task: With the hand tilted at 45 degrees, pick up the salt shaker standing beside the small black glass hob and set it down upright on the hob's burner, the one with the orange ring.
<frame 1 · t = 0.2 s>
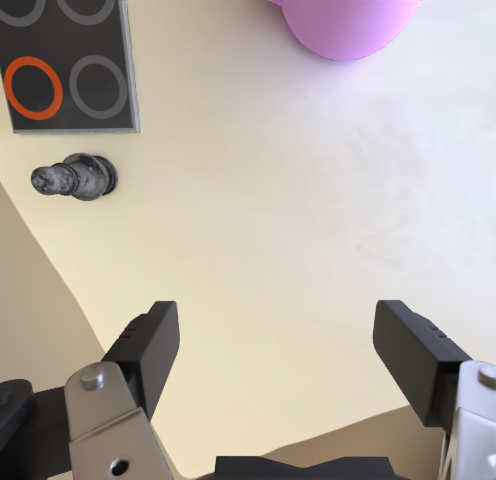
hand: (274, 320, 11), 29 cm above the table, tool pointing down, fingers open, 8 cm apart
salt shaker: (99, 175, 39), on the table
hob: (66, 46, 34), on the table
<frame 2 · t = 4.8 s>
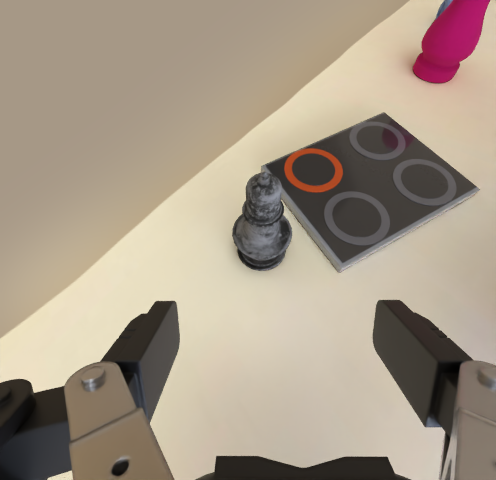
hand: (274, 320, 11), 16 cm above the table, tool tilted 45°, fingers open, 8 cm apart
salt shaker: (261, 249, 31), on the table
hob: (363, 183, 35), on the table
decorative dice: (445, 27, 53), on the table
pepper mill: (431, 73, 46), on the table
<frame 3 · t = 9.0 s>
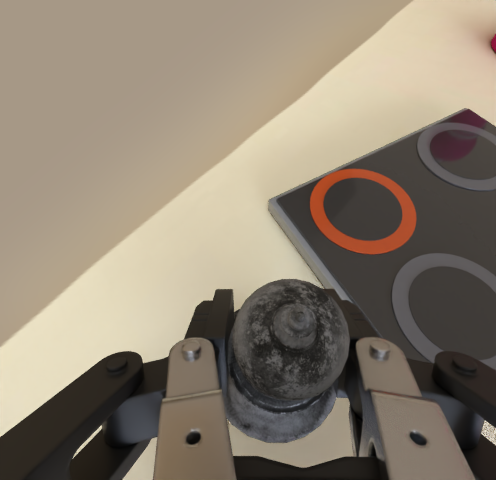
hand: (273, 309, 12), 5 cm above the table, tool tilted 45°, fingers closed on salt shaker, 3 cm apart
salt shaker: (269, 370, 16), on the table, touching gripper
hob: (447, 232, 20), on the table
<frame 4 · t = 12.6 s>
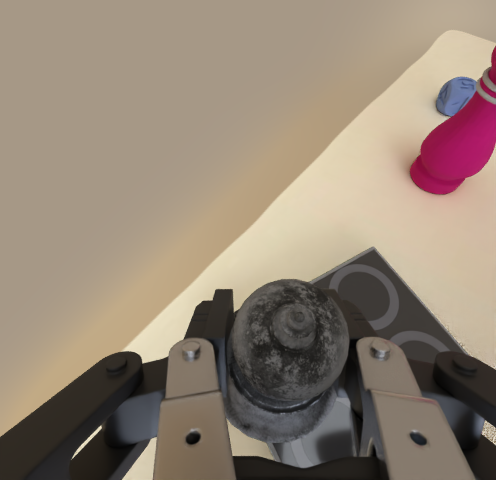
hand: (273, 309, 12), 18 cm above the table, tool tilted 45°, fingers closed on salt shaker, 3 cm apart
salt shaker: (269, 370, 16), point 12 cm above the table, touching gripper
hob: (344, 359, 27), on the table
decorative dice: (448, 109, 45), on the table
pepper mill: (432, 177, 38), on the table
when the fingers open (7 cm above the table, at t = 16.3 s): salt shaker stays where it is, resting on hob.
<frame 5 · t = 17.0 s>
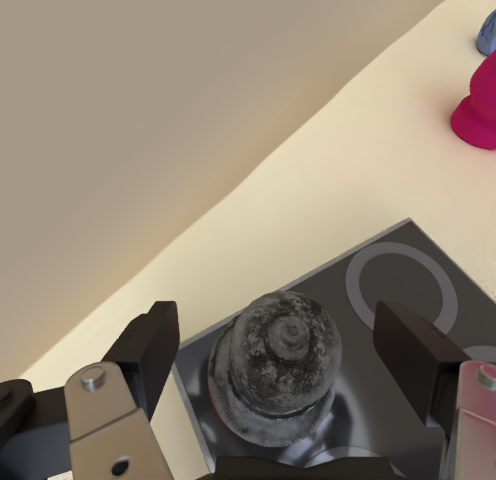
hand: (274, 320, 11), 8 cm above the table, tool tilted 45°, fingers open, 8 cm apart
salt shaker: (268, 374, 16), point 1 cm above the table, touching hob
hob: (373, 392, 17), on the table
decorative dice: (492, 50, 35), on the table
pepper mill: (481, 129, 28), on the table
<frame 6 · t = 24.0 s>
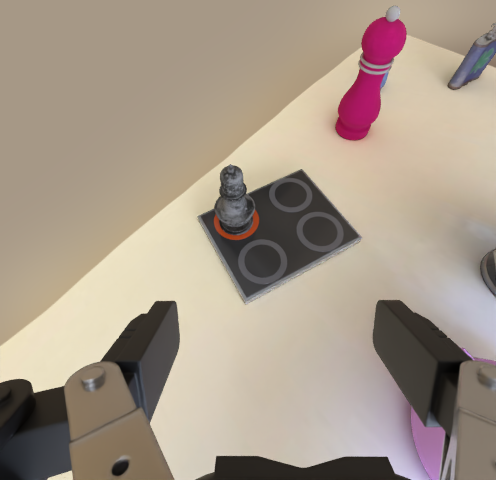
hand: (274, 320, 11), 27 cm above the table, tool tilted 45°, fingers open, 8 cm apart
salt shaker: (236, 221, 44), point 1 cm above the table, touching hob
teapot: (476, 438, 31), on the table
hob: (276, 230, 44), on the table
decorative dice: (371, 86, 62), on the table
flask: (462, 81, 62), on the table
pepper mill: (351, 130, 55), on the table
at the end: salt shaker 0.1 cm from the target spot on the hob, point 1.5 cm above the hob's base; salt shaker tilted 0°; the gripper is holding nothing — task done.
